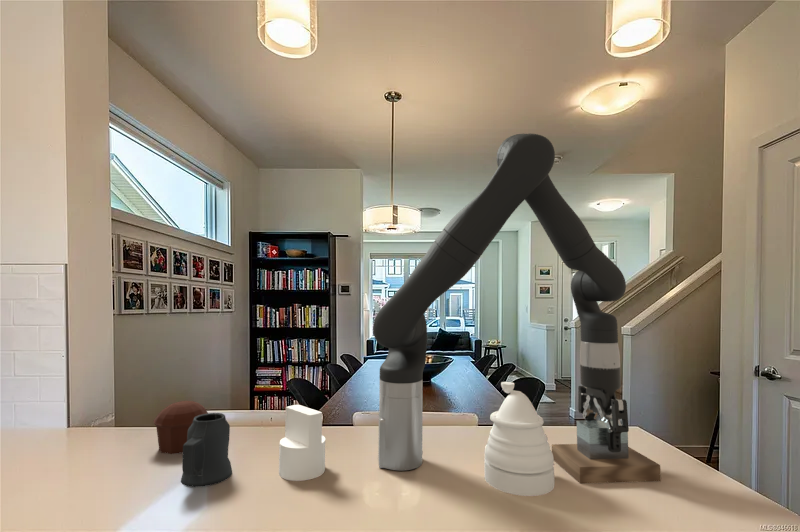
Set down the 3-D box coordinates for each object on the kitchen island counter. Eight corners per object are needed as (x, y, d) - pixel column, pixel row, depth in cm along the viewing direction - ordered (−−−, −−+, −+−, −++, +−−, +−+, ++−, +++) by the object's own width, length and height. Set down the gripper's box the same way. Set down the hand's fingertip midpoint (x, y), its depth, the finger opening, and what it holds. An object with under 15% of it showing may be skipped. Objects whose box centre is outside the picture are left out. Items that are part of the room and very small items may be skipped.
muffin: (181, 436, 102) (183, 395, 103) (218, 440, 99) (220, 398, 100) (139, 453, 91) (141, 407, 92) (180, 459, 88) (182, 411, 89)
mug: (197, 465, 85) (199, 410, 85) (240, 467, 84) (242, 410, 85) (160, 493, 73) (163, 428, 74) (210, 495, 72) (213, 429, 73)
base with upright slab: (270, 471, 82) (271, 409, 83) (308, 458, 89) (309, 401, 90) (295, 485, 76) (296, 418, 77) (334, 470, 83) (335, 409, 84)
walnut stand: (580, 483, 78) (579, 467, 78) (551, 458, 89) (551, 444, 90) (660, 481, 79) (660, 465, 79) (622, 457, 91) (621, 442, 91)
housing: (628, 458, 82) (627, 427, 83) (589, 459, 82) (589, 428, 82) (613, 449, 87) (612, 420, 88) (577, 450, 86) (576, 420, 87)
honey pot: (472, 482, 78) (472, 385, 79) (500, 461, 88) (499, 375, 89) (540, 503, 70) (538, 395, 71) (563, 477, 80) (561, 383, 82)
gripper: (639, 369, 79) (642, 457, 78) (598, 358, 93) (600, 432, 92) (601, 370, 78) (604, 458, 77) (566, 358, 92) (567, 433, 91)
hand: (602, 444), depth 84 cm, fingers open, 8 cm apart
